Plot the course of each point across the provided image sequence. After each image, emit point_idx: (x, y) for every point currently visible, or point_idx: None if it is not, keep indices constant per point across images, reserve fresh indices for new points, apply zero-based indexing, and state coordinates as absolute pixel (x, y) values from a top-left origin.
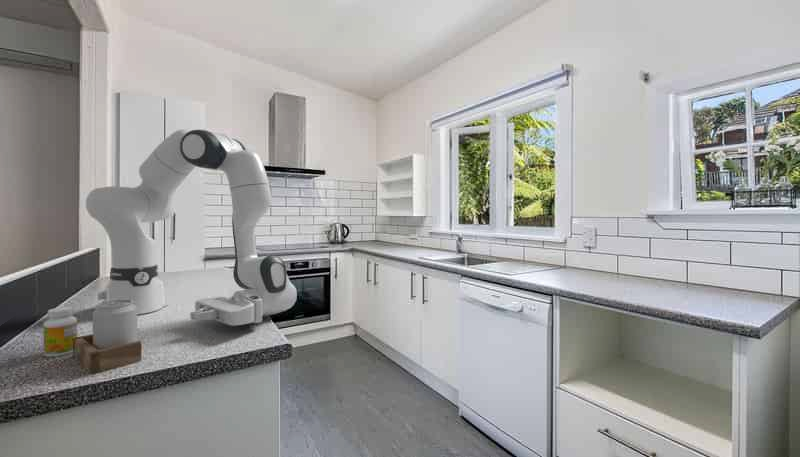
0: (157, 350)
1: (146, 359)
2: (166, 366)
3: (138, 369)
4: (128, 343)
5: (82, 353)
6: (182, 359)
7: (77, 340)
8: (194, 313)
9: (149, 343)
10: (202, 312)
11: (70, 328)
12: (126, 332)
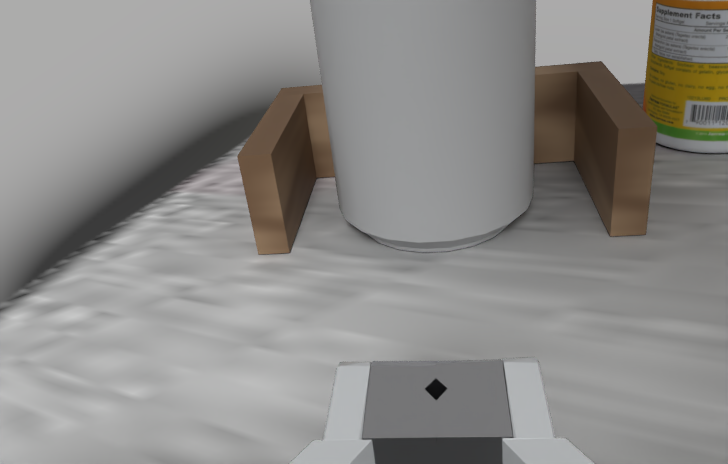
0: (343, 319)
1: (252, 268)
2: (55, 294)
3: (166, 237)
4: (275, 134)
5: None
6: (36, 354)
7: (538, 67)
8: (414, 362)
9: (553, 323)
10: (339, 439)
11: (668, 19)
12: (323, 84)
